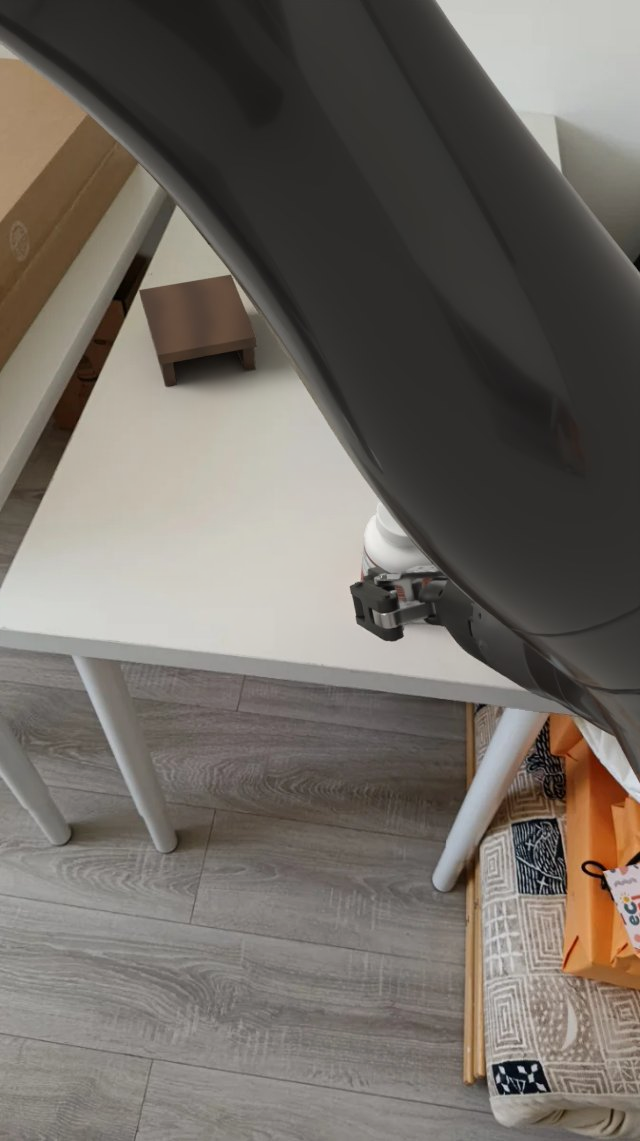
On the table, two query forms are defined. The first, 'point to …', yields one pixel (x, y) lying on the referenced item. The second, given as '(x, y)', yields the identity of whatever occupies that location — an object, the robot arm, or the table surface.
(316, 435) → the table surface
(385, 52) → the robot arm
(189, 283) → the small wooden stand
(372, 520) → the pill bottle
